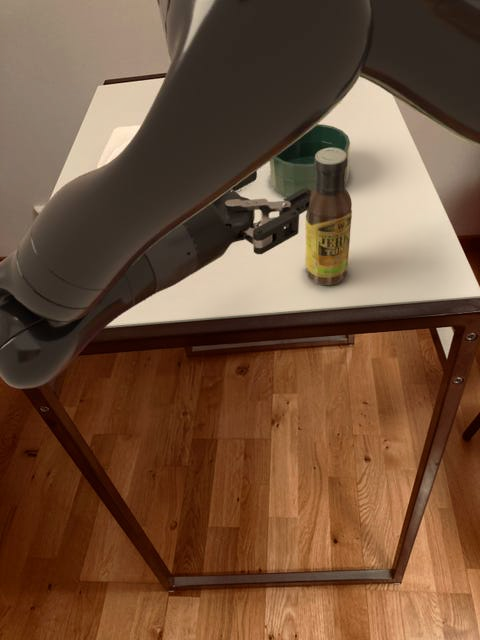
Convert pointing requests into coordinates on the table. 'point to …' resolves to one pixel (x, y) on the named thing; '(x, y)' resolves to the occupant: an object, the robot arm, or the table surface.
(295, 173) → the pot
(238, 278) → the table surface
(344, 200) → the sauce bottle
